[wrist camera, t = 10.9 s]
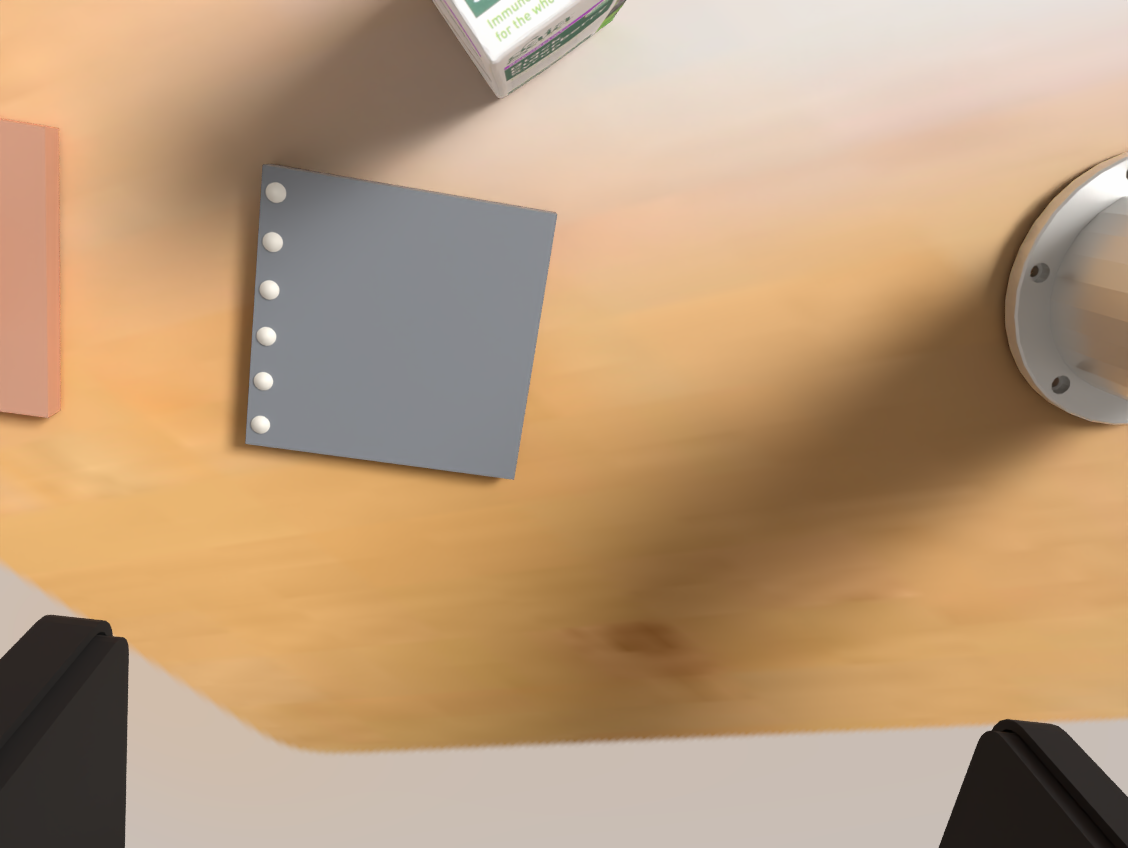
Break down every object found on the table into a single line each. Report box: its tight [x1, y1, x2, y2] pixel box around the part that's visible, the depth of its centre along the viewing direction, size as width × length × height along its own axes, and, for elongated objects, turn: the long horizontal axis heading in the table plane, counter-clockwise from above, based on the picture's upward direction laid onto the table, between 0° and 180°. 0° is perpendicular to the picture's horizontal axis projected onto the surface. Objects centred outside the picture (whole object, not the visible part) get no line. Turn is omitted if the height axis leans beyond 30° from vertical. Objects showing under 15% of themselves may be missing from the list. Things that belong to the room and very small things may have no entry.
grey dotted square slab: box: [245, 164, 557, 480], centre depth 37 cm, size 12×12×1 cm
